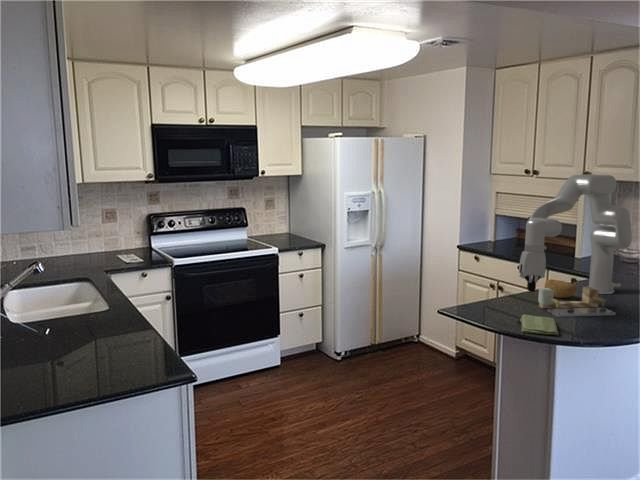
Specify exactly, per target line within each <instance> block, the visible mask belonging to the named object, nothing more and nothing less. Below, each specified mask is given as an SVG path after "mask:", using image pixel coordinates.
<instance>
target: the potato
mask: <svg viewBox="0 0 640 480" xmlns="http://www.w3.org/2000/svg"><path fill="white" fill-rule="evenodd" d="M544 288H549V289H551V290H553V291H554V296H553V298H555V299H556V298H558V299H564V298H565V299H568V298H571V297H573V296H574V295H575V294H576V293H577V292H578V291H577V290H578V287H577V285H576V284H574V283H571V282H567V281H564V280H558V279H547V280H546V281H545V283H544Z"/></svg>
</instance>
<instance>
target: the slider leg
mask: <svg viewBox="0 0 640 480" xmlns="http://www.w3.org/2000/svg"><path fill="white" fill-rule="evenodd" d="M553 296H554V291H553V290H551V289H549V288H545V287H540V288H538V300H537V301H538V303H539V302H540V303H542V304H544V305H551V304H553V302H555V303H556V308H555V309H559V308H558V305H559V302H560V301H559V300H558V299H556V298H555V297H553Z"/></svg>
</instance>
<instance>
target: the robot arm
mask: <svg viewBox="0 0 640 480" xmlns="http://www.w3.org/2000/svg"><path fill="white" fill-rule="evenodd" d="M617 184H618V183H617V179H616V177H615V176H613V175H611V174H610V175H609V174H593V173H591V174H589V173H588V174H575V175H570V177H568V178H567V179H566V181H565V182H564V184H563V185H562V186H561V188H560V189H559V190H558V193H557V194H556V195H555V196H554V198H552V199H549V200H548V201H546V202H545V203H543V204H541V205H540V206H538V207H536V209H534V211H533V212H532V214H531V215H530V216H529V219H528V220H527V221H526V224H525V240H524V250H523V251H521V255H520V259H519V264H518V265H519V266H518V273H519V278H522V279H525V281H526V282H527V285H526V286H527V287H526V289H527V291H529V292H530V293H532V292H533V293H534V292H535V291H536V287H537V283H538V281H539V280H540V279H544V278H546V271H547V260H546V252H545V250H547V245H545V237H549V238H551V237H552V238H553V237H557V236H559V235H560V233H561V232H562V230H563V225H562V223H561V222H560V221H559V220H557V219H554V218H549V217H552V216H555V215H558V214H562V213H565V212H568V211H571V210H572V209H573V208H574V207H575V205H576V203H577V202H578V200H579V199H580V197H581V196H582V195H583V196H587V198H588V201H589V208H590V215H591V216H590V217H591V221H592V223H593V224H595V225H598V226H595V227H593V228H592V230H591V231H590V235H589V238H590V245H591V246H590V248H591V255H590V267H589V279H588V280H589V281H588V285H587V286H585V287H593V288H596V289H598V295H612V294H614V293H615V288H621V287H622V285H621V283H615V282H613V268H614V258H615V257H614V252H613V250H612V249H611V248H614V249H621V250H622V249H628V248H629V247H630V246H631V244H632V240H633V235H632V223H631V214H630V212H629V210H628V209H627V208H626V207H624V206H618V205H612V203H611V197H610V195H611V194H613V193H614V191H616V188H617Z"/></svg>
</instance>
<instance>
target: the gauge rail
mask: <svg viewBox="0 0 640 480" xmlns="http://www.w3.org/2000/svg"><path fill="white" fill-rule="evenodd" d="M599 301H600V302H601V307H605V304H606V299H605V298H602V297H600V296H599V294H598V289H596V288H593V287H586V286H582V293H581V300H578V301H577V300H570V301H568V300H567V301H559V305H558V308H556V303H555V302H553V304H551V305H544V304H542V303H540V302H538V307H539V308H540V307H541V308H540V309H542V308H548V309H566V308H599Z"/></svg>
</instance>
